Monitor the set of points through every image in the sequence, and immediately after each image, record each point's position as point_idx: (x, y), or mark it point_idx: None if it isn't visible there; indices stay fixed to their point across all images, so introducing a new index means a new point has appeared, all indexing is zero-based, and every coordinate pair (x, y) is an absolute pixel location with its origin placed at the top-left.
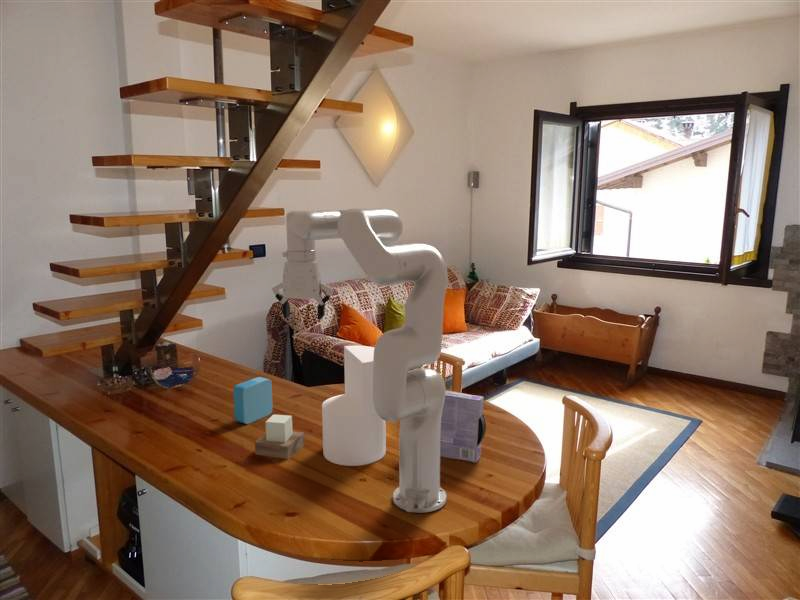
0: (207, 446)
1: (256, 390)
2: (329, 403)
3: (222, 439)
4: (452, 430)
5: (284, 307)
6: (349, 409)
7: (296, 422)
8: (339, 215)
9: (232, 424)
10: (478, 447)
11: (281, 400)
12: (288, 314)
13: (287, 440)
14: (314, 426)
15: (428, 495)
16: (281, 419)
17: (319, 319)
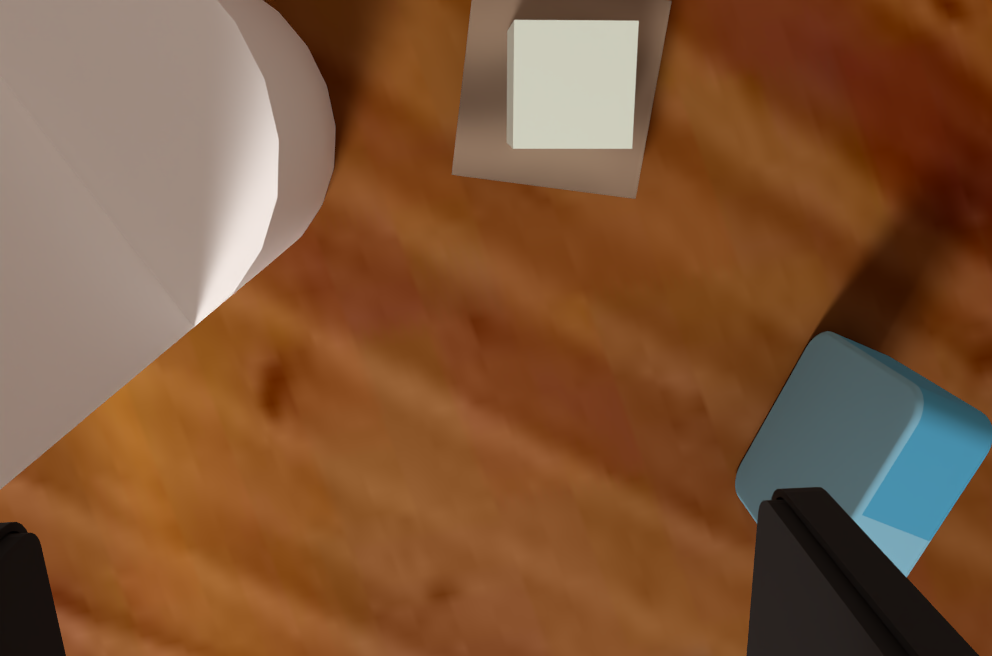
0: (922, 55)
1: (849, 468)
2: (227, 127)
3: (875, 149)
4: None
5: (939, 645)
6: (40, 35)
7: (580, 404)
8: None
9: (883, 326)
10: None
11: (737, 632)
12: (770, 642)
13: (504, 55)
14: (477, 376)
15: None
16: (554, 76)
17: (2, 530)
